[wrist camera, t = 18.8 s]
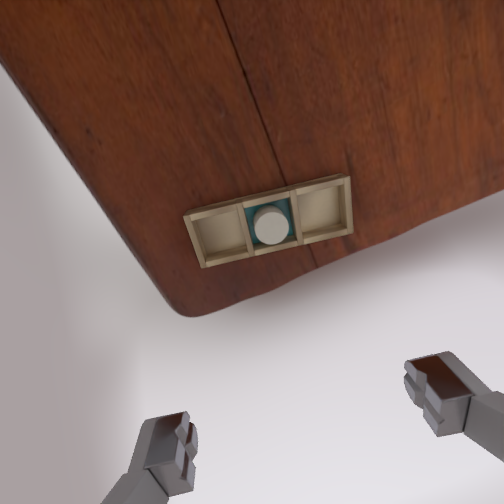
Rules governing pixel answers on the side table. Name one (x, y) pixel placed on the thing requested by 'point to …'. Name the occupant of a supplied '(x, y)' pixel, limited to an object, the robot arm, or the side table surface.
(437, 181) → the side table surface
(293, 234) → the grid
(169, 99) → the side table surface
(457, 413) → the robot arm
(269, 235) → the cylinder
